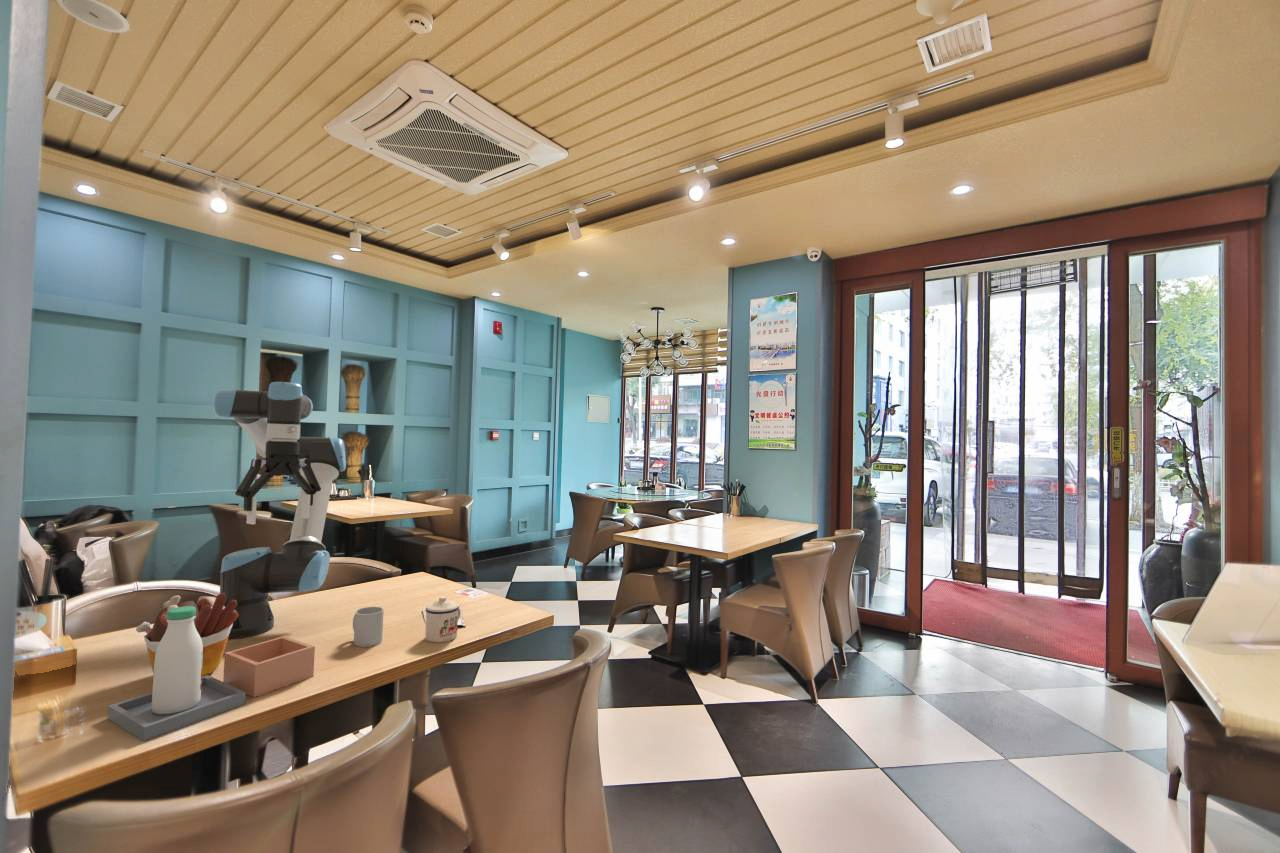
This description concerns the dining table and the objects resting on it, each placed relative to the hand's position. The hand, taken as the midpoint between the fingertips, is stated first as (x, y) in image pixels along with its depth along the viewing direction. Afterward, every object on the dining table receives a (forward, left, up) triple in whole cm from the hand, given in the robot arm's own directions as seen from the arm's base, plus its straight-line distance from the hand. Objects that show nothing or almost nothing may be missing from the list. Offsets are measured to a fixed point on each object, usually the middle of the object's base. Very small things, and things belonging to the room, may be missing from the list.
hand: (279, 520), depth 144 cm
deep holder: (+16, -9, -35) cm, 39 cm away
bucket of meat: (-3, -17, -35) cm, 39 cm away
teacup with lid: (+27, +33, -35) cm, 55 cm away
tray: (+16, -27, -35) cm, 46 cm away
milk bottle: (+16, -27, -34) cm, 46 cm away
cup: (+12, +18, -35) cm, 41 cm away
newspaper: (+14, +44, -36) cm, 58 cm away
